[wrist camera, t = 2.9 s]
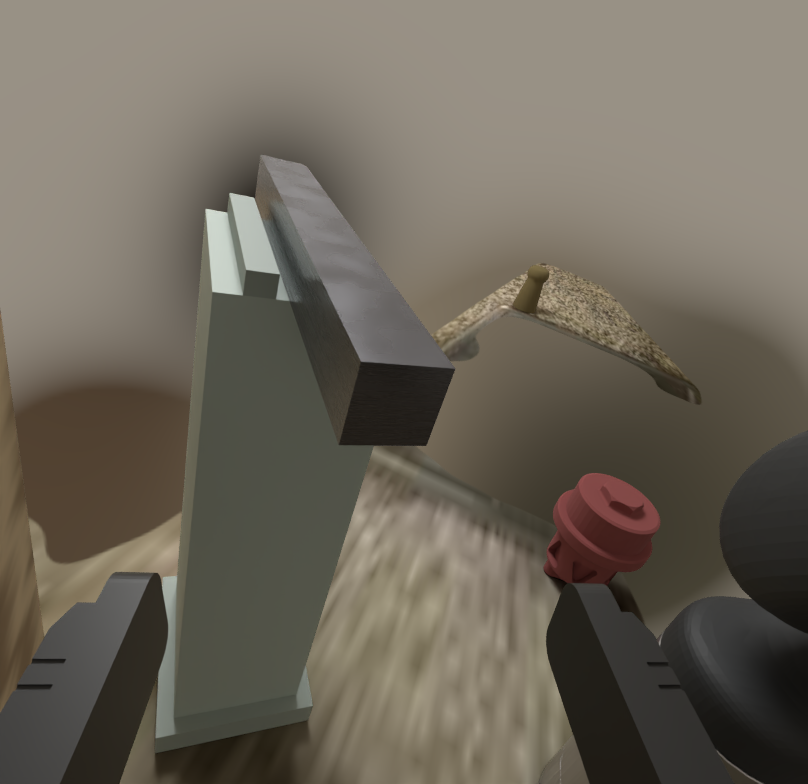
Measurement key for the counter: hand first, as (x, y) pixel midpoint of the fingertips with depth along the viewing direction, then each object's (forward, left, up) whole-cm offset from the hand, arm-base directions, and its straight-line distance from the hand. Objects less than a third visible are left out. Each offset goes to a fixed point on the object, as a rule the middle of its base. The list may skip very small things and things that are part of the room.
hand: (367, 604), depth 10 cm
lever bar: (-1, -15, +1) cm, 15 cm away
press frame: (-1, -18, -31) cm, 36 cm away
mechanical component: (-37, -21, -31) cm, 53 cm away
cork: (-78, -97, -31) cm, 128 cm away
